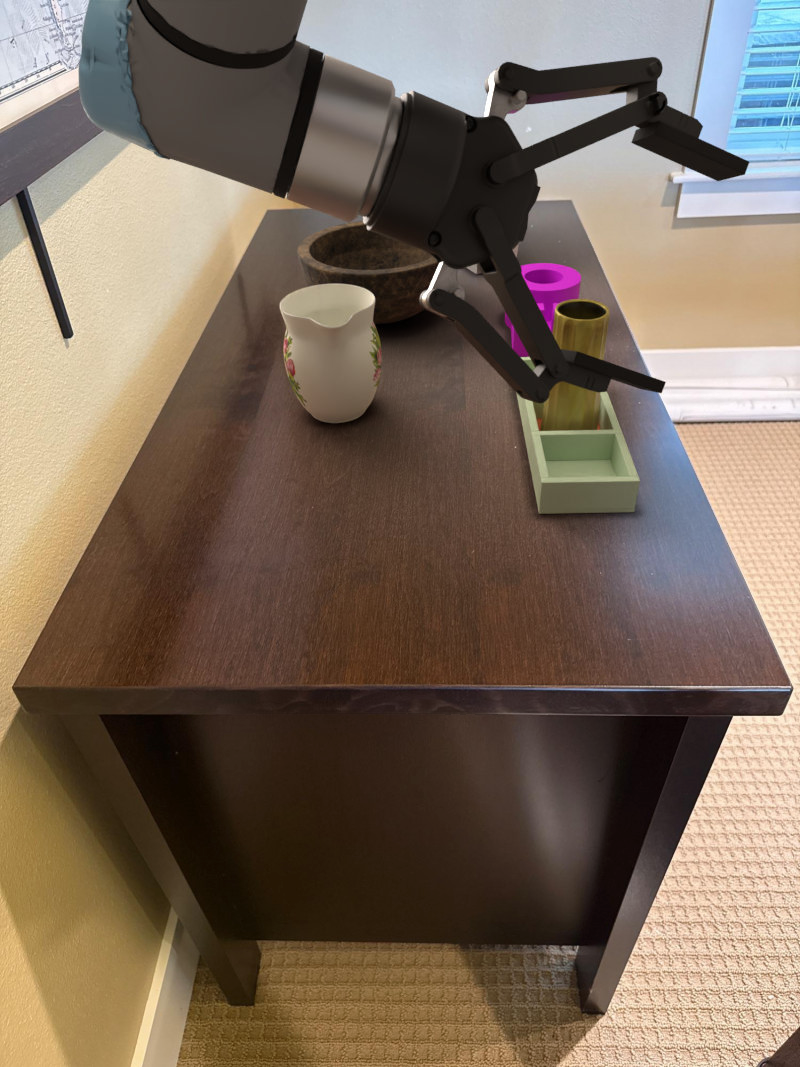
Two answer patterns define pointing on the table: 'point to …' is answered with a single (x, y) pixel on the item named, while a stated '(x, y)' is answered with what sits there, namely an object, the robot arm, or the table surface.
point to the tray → (579, 463)
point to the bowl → (369, 267)
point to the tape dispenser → (546, 293)
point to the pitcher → (332, 350)
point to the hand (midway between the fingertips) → (692, 282)
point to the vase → (586, 333)
